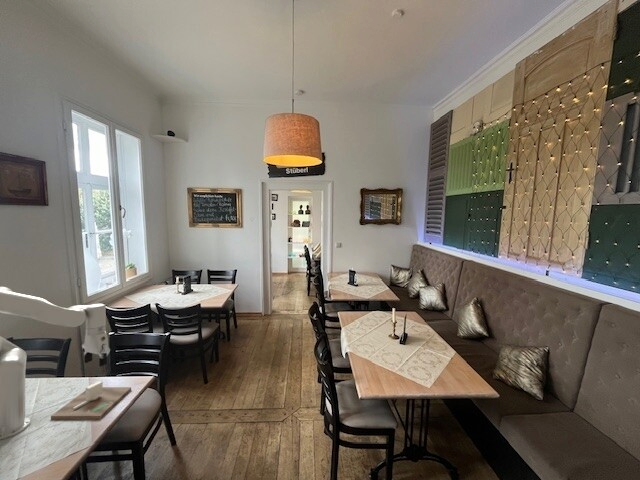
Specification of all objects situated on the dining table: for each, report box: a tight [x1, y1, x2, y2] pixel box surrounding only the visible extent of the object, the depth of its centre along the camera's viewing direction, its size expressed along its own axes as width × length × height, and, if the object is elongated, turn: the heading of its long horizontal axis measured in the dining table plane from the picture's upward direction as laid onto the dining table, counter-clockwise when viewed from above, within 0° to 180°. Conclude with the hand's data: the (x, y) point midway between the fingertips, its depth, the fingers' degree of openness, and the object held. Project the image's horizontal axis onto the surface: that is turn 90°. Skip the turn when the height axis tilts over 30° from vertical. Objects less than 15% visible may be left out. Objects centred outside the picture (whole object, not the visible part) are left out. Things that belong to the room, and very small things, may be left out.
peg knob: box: [74, 380, 103, 409], centre depth 130 cm, size 12×3×7 cm, turn 164°
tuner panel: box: [50, 386, 132, 420], centre depth 131 cm, size 22×21×2 cm
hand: (95, 363), depth 132 cm, fingers open, 9 cm apart
